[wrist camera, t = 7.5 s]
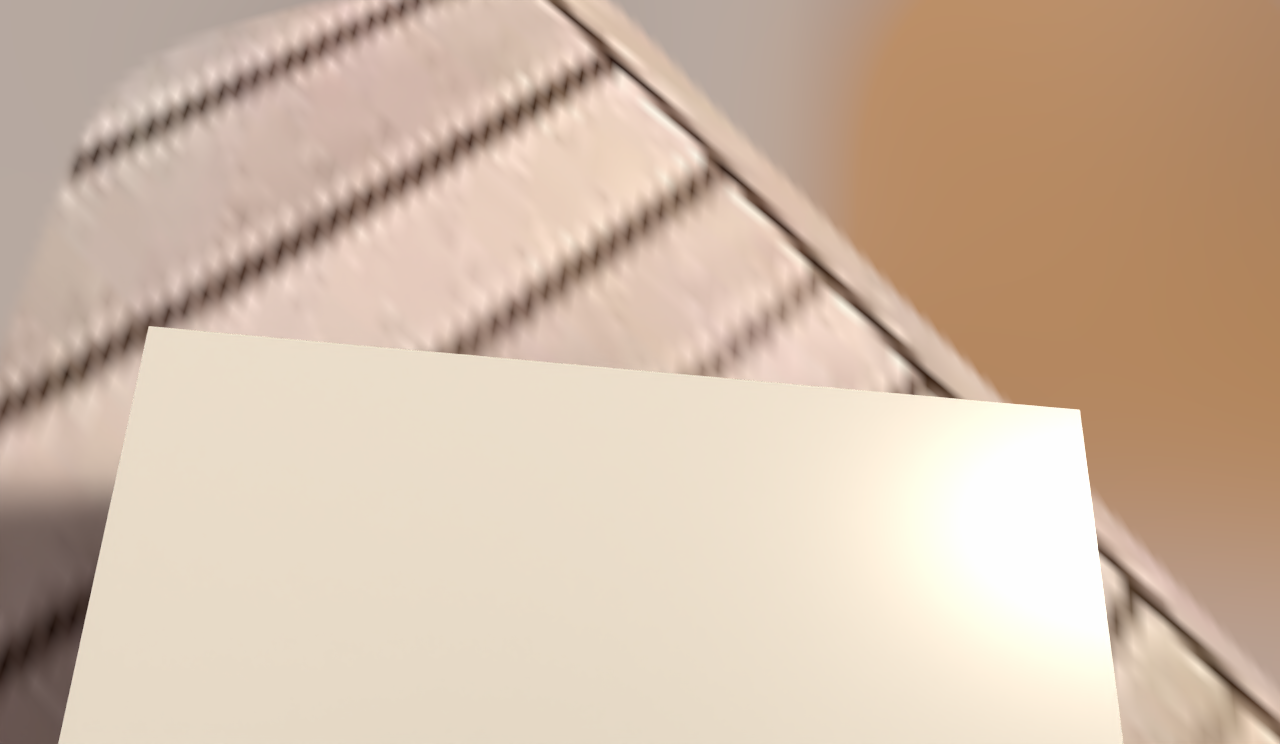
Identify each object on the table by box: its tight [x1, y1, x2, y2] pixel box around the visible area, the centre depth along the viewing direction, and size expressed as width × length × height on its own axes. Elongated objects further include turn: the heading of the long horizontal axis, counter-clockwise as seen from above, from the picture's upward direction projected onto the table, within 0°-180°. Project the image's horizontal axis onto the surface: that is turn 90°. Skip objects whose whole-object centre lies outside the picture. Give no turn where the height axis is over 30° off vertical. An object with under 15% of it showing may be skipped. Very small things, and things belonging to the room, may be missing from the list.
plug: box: [58, 326, 1123, 744], centre depth 10 cm, size 7×7×11 cm
